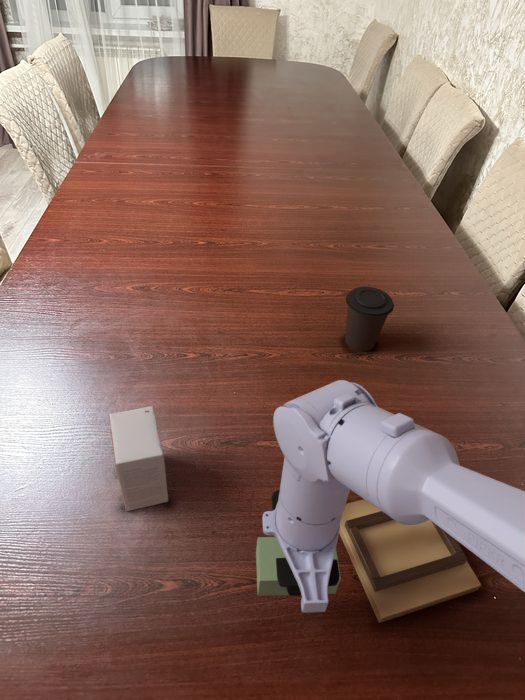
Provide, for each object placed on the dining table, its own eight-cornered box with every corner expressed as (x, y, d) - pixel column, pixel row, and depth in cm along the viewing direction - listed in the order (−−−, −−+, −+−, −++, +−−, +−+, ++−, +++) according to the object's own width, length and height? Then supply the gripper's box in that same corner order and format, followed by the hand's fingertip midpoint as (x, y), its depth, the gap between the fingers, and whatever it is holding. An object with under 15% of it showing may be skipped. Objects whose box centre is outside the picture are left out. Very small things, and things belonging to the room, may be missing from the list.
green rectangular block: (335, 594, 53) (341, 579, 51) (257, 595, 53) (259, 580, 50) (329, 551, 57) (334, 535, 54) (255, 553, 56) (257, 537, 54)
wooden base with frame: (477, 590, 61) (485, 580, 60) (379, 623, 58) (384, 613, 56) (417, 490, 71) (423, 479, 69) (330, 513, 68) (333, 502, 66)
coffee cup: (391, 344, 93) (405, 299, 86) (362, 363, 89) (374, 318, 82) (357, 321, 97) (368, 276, 91) (328, 338, 93) (336, 293, 86)
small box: (118, 462, 71) (107, 412, 64) (159, 453, 73) (153, 403, 66) (125, 513, 66) (114, 465, 59) (169, 503, 67) (163, 454, 60)
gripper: (262, 427, 50) (255, 503, 59) (271, 580, 39) (260, 644, 48) (335, 427, 50) (316, 503, 59) (364, 578, 39) (336, 642, 49)
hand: (296, 566), depth 54 cm, fingers closed on green rectangular block, 4 cm apart
